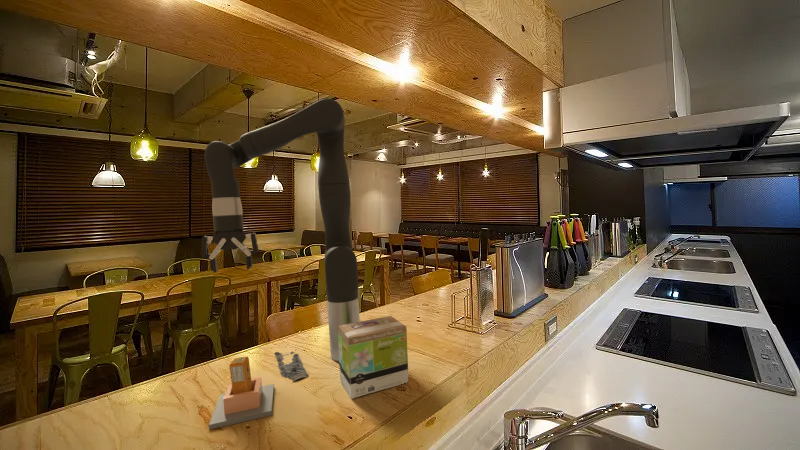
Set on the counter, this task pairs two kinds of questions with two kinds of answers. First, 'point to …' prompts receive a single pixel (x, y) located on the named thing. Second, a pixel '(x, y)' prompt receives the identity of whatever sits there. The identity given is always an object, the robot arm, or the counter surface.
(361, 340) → the tea box
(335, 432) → the counter surface
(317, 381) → the counter surface
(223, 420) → the slate board
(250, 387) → the supplement box
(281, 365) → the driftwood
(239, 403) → the terracotta holder
